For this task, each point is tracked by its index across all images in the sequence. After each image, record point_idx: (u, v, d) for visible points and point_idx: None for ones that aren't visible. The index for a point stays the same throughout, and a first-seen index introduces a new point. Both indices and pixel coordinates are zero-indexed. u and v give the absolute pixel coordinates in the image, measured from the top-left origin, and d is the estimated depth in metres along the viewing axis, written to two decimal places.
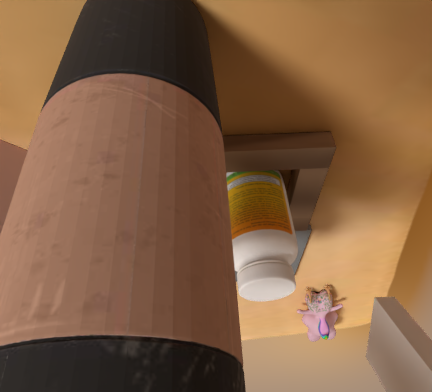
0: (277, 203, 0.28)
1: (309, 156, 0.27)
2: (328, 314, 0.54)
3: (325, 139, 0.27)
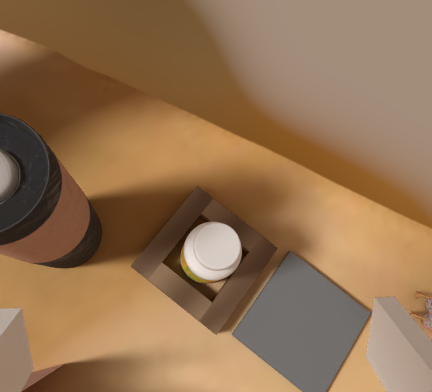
0: None
1: (193, 202, 0.41)
2: None
3: None
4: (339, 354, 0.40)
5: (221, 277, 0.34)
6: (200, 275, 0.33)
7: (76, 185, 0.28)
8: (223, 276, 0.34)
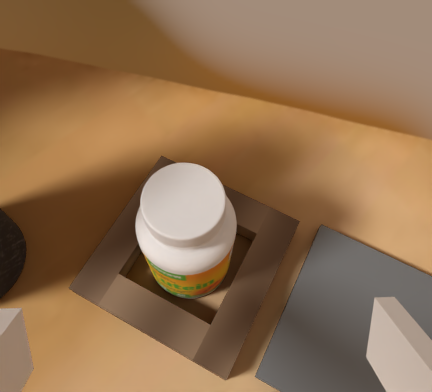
0: None
1: None
2: None
3: None
4: None
5: (206, 263, 0.19)
6: (168, 267, 0.19)
7: None
8: (209, 261, 0.19)
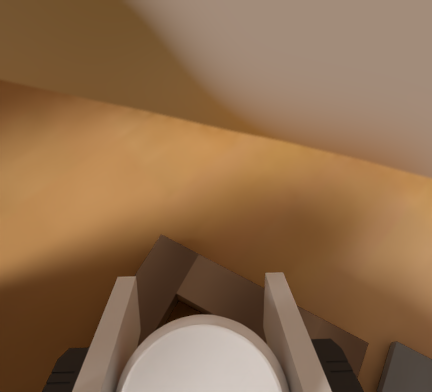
0: None
1: (156, 272, 0.18)
2: None
3: None
4: None
5: None
6: None
7: None
8: None
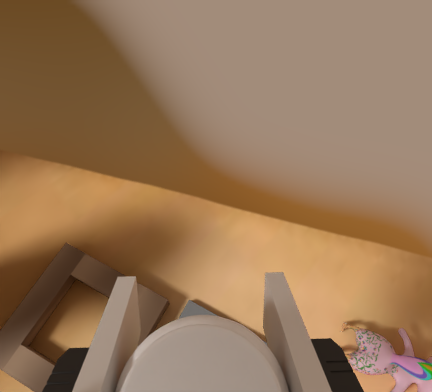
0: None
1: (61, 263, 0.34)
2: None
3: None
4: None
5: None
6: None
7: None
8: None
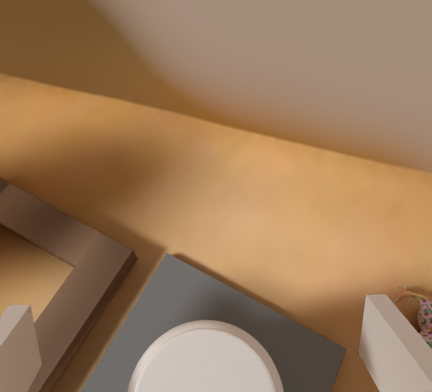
0: None
1: None
2: None
3: None
4: None
5: None
6: None
7: None
8: None
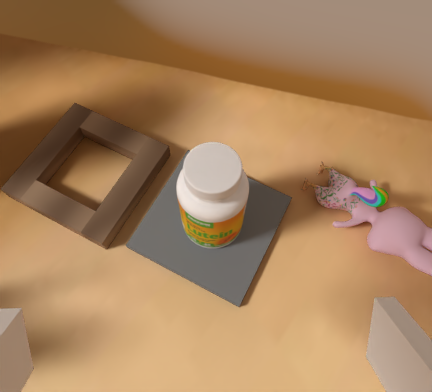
0: None
1: (70, 118, 0.37)
2: None
3: None
4: (259, 246, 0.33)
5: (228, 213, 0.26)
6: (201, 216, 0.26)
7: None
8: (230, 211, 0.26)
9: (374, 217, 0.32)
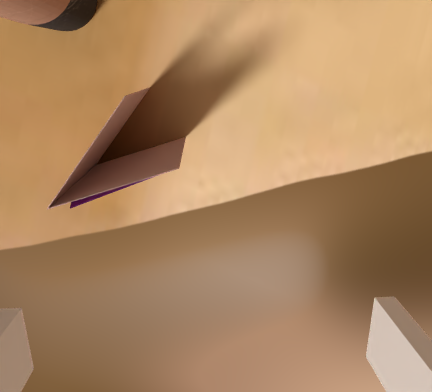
0: None
1: None
2: None
3: None
4: None
5: None
6: None
7: None
8: None
9: None
